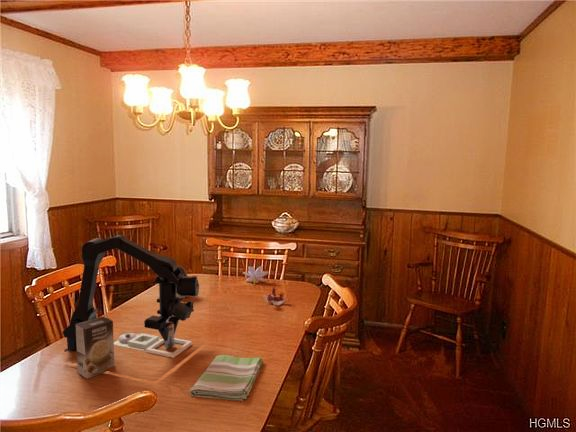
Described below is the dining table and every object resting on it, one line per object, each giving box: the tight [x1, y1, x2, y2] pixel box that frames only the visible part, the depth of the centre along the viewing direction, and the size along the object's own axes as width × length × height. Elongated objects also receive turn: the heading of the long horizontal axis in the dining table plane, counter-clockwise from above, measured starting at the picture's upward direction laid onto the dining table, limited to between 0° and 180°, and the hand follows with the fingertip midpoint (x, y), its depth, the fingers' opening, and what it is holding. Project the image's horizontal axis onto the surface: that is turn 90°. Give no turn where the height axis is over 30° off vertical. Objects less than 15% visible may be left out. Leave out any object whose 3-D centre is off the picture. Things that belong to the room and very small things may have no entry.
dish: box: [145, 337, 193, 359], centre depth 149 cm, size 11×11×2 cm
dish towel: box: [189, 354, 264, 402], centre depth 132 cm, size 17×23×4 cm
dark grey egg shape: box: [174, 265, 188, 300], centre depth 204 cm, size 10×10×15 cm
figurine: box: [261, 285, 288, 307], centre depth 197 cm, size 15×12×7 cm
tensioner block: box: [114, 332, 162, 352], centre depth 154 cm, size 10×14×3 cm
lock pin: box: [163, 322, 175, 349], centre depth 148 cm, size 4×4×8 cm
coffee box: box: [76, 316, 115, 380], centre depth 134 cm, size 9×6×16 cm
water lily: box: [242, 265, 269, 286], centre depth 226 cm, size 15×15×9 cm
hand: (169, 338), depth 149 cm, fingers closed on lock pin, 3 cm apart
